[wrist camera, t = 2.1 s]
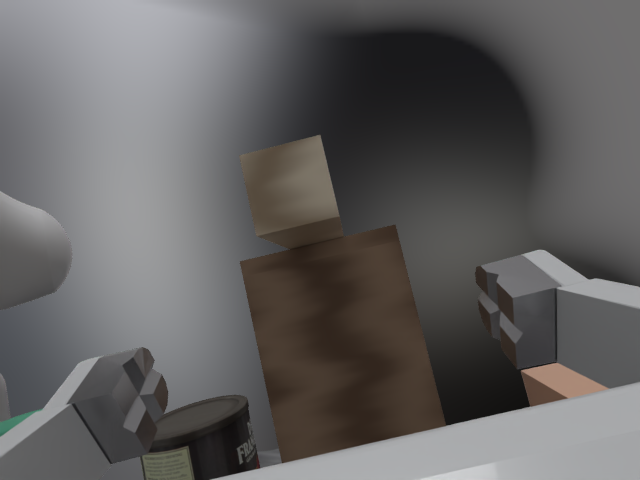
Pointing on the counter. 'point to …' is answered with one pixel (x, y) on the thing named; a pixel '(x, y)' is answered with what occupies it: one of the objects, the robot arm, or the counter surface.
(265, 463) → the counter surface
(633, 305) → the robot arm
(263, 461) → the counter surface
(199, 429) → the coffee can
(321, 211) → the bar
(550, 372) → the pedestal
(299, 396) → the wooden open box
